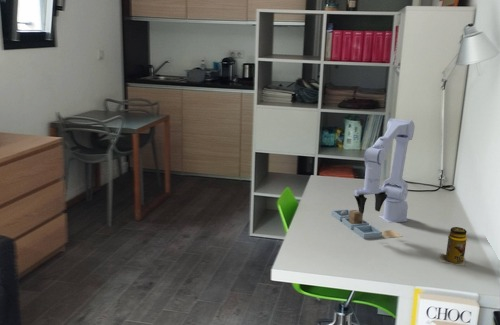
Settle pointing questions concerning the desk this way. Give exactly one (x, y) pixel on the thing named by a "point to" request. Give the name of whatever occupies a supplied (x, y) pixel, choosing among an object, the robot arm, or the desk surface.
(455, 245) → the condiment
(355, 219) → the letter block
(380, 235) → the dish
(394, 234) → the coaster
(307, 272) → the desk surface
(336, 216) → the dish
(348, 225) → the dish
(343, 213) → the grey ball
